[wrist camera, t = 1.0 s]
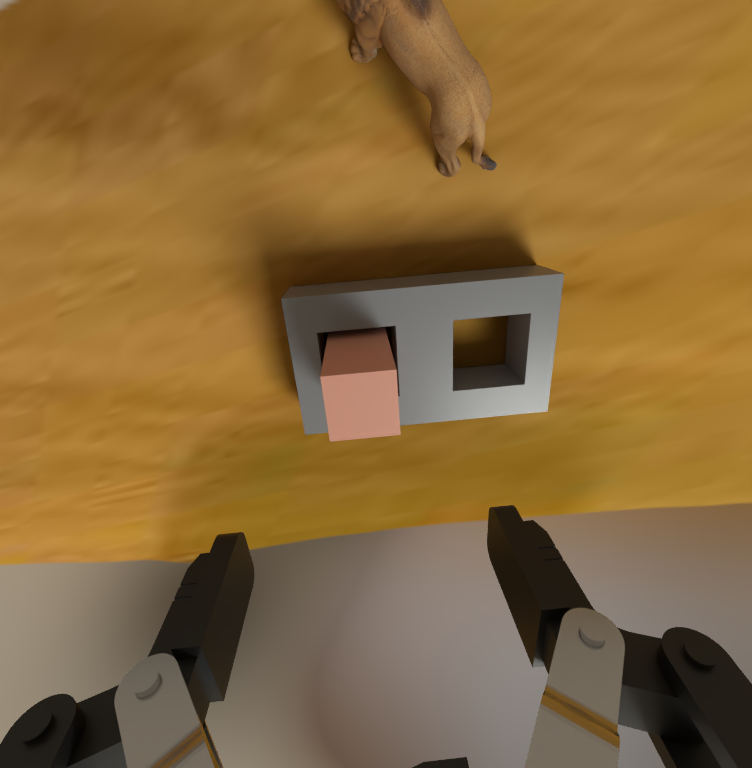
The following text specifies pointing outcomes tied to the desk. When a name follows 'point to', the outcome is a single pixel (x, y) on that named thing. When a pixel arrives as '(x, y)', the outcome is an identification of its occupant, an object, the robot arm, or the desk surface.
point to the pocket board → (434, 339)
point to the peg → (360, 385)
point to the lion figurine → (429, 69)
